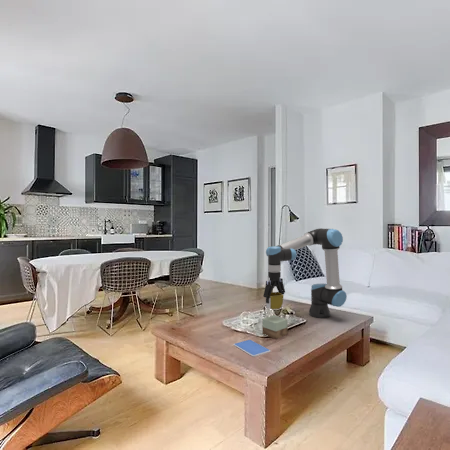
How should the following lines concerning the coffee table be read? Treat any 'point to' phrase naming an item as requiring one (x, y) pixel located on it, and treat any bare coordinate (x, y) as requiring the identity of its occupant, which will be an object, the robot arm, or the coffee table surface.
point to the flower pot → (276, 300)
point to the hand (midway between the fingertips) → (274, 306)
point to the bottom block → (275, 332)
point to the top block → (274, 323)
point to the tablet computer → (252, 348)
